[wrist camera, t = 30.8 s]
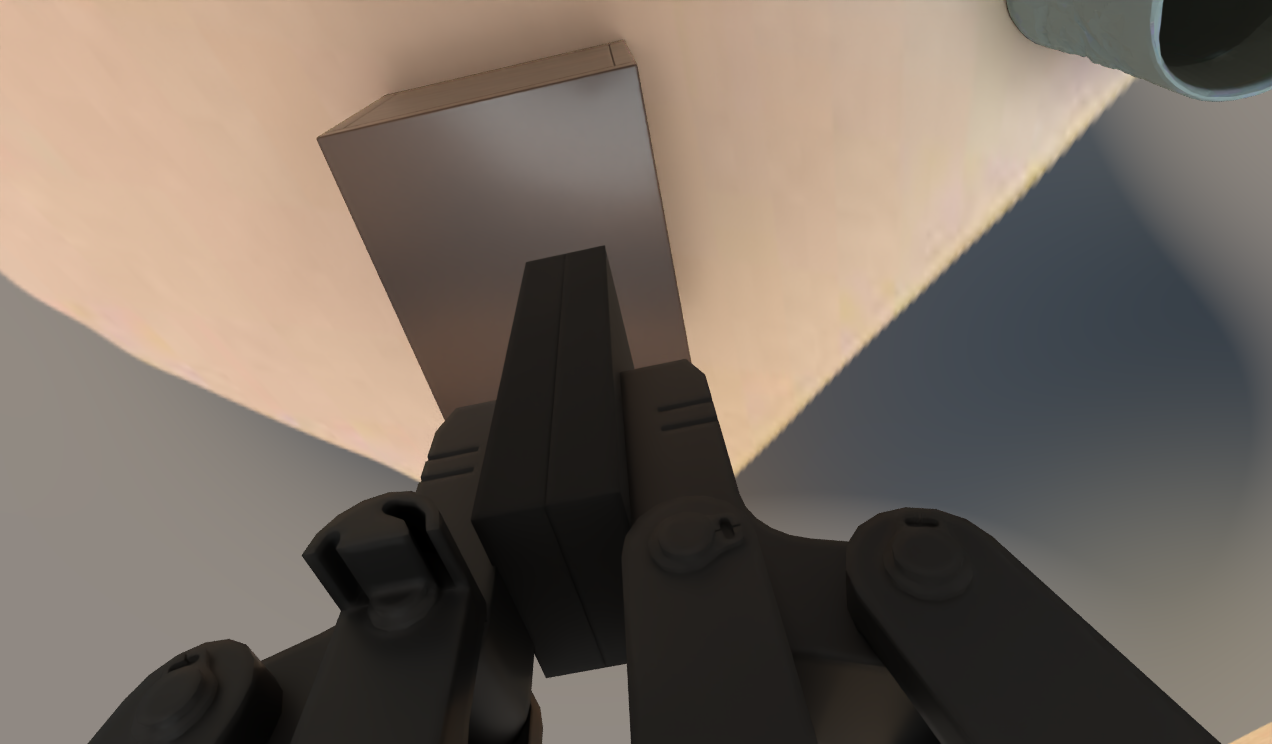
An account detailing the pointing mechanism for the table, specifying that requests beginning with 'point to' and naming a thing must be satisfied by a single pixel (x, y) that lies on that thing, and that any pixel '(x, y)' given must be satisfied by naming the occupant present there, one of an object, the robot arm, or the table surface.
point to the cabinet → (508, 206)
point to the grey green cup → (1162, 40)
